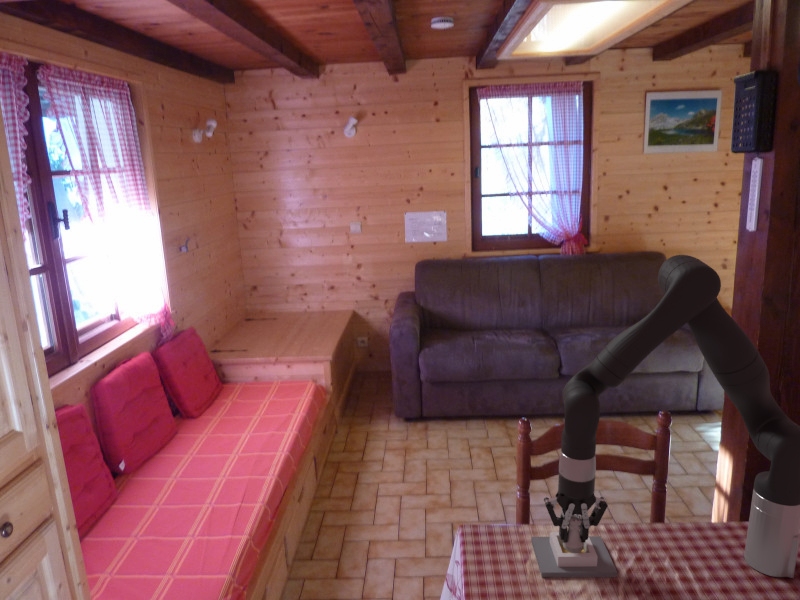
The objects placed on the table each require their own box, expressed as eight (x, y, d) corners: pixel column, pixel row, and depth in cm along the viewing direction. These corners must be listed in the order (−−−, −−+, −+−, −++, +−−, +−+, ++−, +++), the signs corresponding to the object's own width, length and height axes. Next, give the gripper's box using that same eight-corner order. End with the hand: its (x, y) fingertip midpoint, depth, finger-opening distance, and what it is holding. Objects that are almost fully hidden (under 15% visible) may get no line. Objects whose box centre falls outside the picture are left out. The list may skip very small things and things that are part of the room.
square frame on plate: (600, 540, 138) (601, 526, 137) (617, 576, 127) (618, 562, 126) (531, 541, 139) (531, 527, 138) (541, 577, 127) (542, 562, 126)
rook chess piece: (584, 555, 130) (586, 523, 128) (563, 553, 130) (564, 521, 128) (582, 542, 134) (584, 511, 132) (561, 540, 135) (563, 509, 133)
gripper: (547, 480, 124) (544, 551, 128) (616, 480, 123) (610, 551, 128) (540, 462, 131) (538, 529, 135) (604, 461, 131) (600, 529, 135)
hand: (573, 539), depth 132 cm, fingers closed on rook chess piece, 3 cm apart
